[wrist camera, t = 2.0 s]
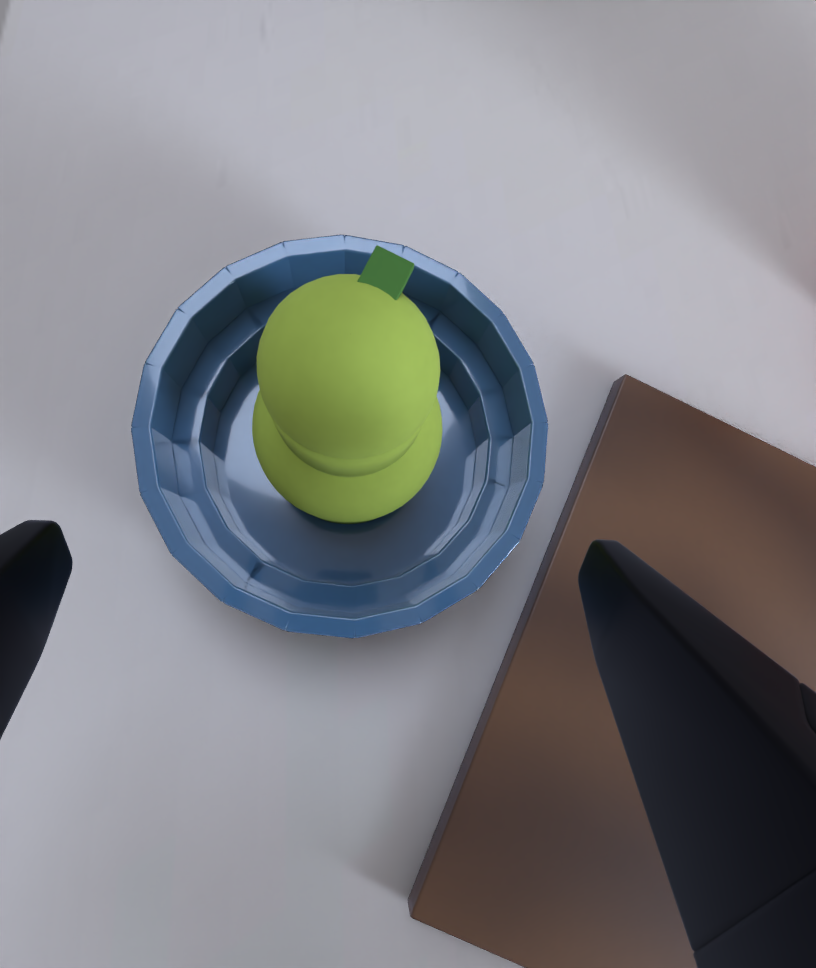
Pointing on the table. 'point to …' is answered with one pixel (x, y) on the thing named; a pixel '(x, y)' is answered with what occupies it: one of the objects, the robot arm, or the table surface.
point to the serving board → (583, 701)
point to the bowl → (303, 537)
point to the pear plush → (349, 394)
